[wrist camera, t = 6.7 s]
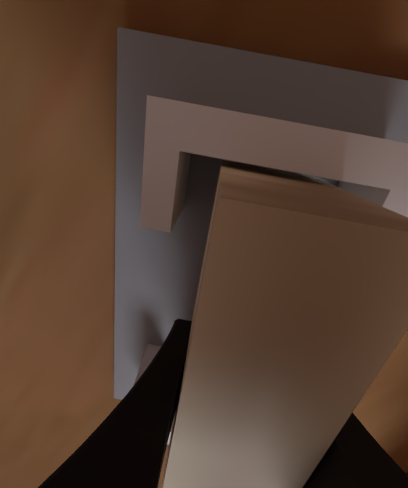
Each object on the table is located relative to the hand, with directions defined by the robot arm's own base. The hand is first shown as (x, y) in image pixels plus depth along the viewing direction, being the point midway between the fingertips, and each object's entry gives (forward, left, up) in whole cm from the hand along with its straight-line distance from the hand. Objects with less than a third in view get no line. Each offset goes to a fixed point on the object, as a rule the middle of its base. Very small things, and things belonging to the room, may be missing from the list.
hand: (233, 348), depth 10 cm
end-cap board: (0, 0, -4) cm, 4 cm away
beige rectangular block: (0, 0, -2) cm, 2 cm away
